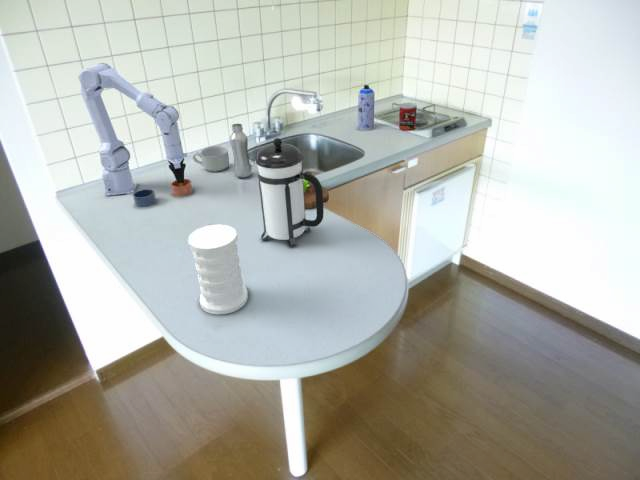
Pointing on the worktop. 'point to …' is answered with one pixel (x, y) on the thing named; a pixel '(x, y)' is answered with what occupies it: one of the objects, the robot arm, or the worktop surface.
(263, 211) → the coffee press
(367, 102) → the aerosol can
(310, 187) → the plant
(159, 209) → the worktop surface
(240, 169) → the plastic bottle
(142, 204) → the left pot
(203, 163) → the teacup
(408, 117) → the canned food
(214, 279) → the decorative container
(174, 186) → the right pot
